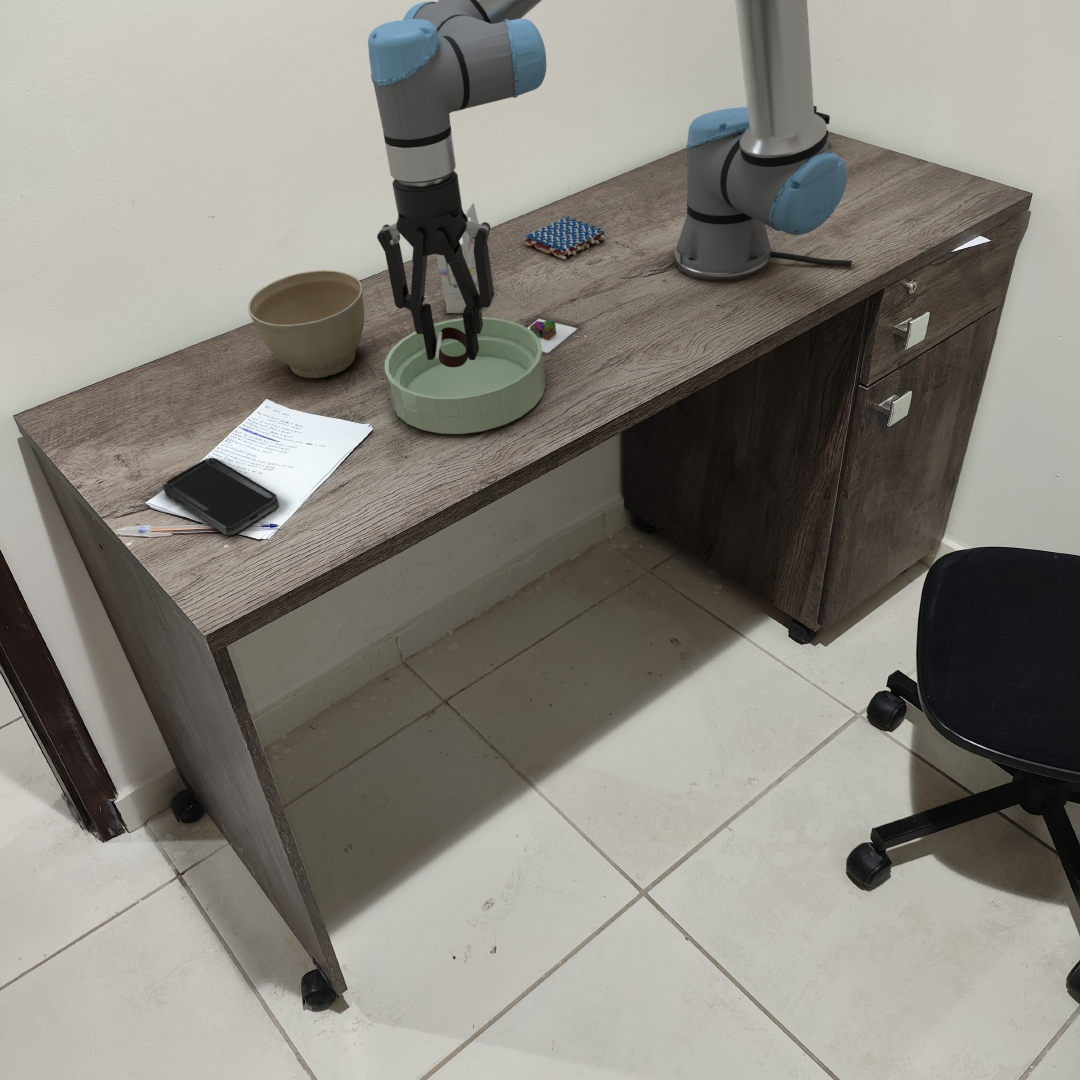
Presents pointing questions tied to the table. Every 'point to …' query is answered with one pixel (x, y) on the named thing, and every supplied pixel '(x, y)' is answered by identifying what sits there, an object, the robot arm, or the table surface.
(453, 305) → the ink cartridge box
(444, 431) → the bowl
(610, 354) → the table surface
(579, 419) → the table surface
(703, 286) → the table surface
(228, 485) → the phone
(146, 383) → the table surface
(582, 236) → the woven mat
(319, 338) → the planter bowl
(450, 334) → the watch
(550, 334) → the white paper sheet
